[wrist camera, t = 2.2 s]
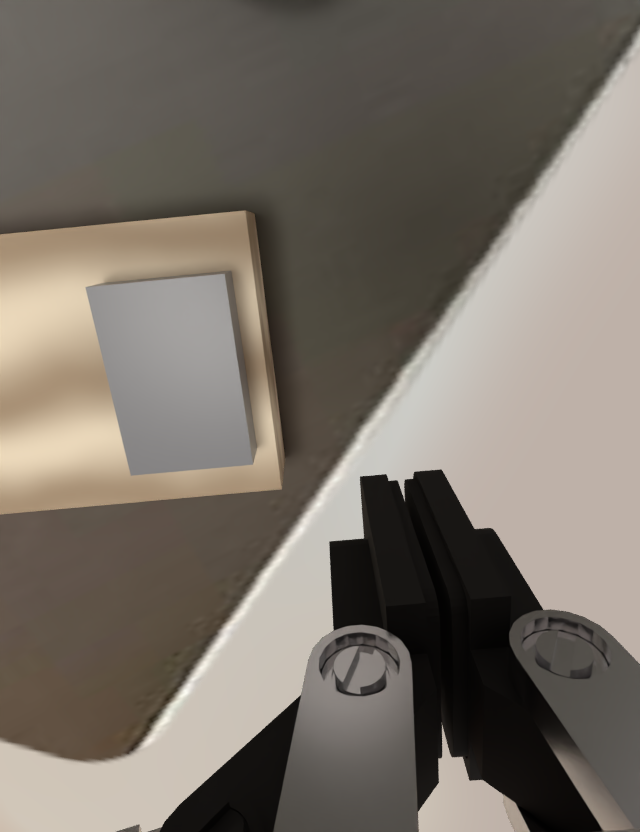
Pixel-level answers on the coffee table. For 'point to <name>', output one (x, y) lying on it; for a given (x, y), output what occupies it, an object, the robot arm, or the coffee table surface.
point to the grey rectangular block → (176, 371)
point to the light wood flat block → (84, 368)
